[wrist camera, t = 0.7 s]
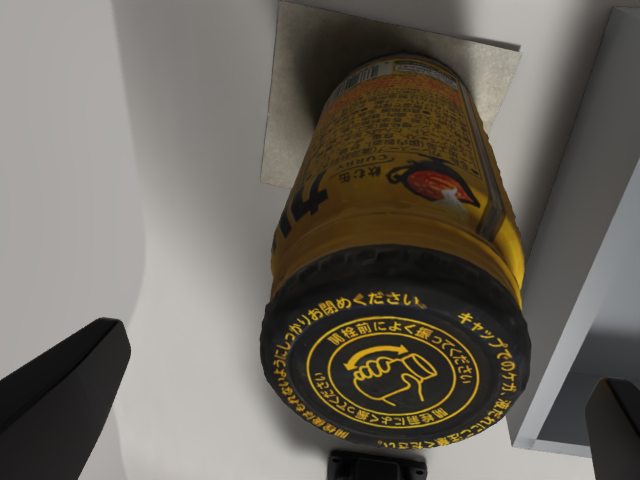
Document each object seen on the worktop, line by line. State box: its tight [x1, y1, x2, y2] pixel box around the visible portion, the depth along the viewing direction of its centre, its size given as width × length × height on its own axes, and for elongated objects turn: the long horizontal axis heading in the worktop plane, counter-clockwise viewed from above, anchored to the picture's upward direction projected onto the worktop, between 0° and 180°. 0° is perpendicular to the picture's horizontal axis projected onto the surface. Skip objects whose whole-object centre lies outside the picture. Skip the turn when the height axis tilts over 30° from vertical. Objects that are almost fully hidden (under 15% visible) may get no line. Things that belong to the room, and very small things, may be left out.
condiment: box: [260, 0, 532, 449], centre depth 14 cm, size 7×8×12 cm
